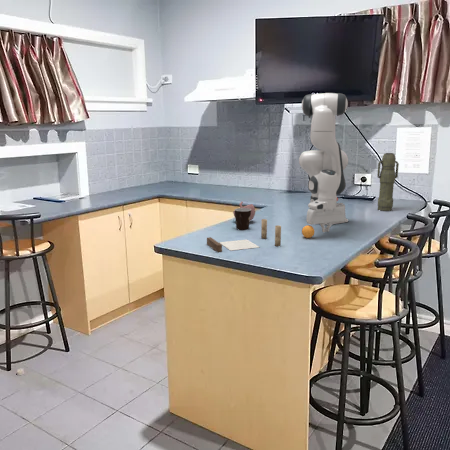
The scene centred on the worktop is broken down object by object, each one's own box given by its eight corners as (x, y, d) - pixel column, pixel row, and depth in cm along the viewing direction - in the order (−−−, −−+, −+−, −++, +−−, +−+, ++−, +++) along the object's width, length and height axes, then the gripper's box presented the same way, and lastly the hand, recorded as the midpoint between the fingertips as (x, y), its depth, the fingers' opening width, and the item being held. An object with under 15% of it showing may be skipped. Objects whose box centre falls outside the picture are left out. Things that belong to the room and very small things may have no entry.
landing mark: (246, 239, 220) (246, 239, 220) (259, 247, 208) (259, 247, 208) (219, 242, 215) (219, 242, 215) (230, 250, 203) (230, 250, 203)
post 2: (278, 244, 213) (279, 225, 210) (281, 245, 210) (282, 226, 208) (273, 245, 212) (274, 225, 210) (276, 246, 209) (277, 227, 207)
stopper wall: (210, 243, 214) (210, 237, 213) (221, 251, 201) (221, 244, 201) (206, 244, 213) (206, 237, 213) (217, 252, 201) (217, 245, 200)
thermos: (397, 211, 286) (402, 153, 278) (378, 211, 285) (382, 153, 277) (391, 208, 295) (396, 152, 287) (373, 208, 294) (377, 152, 286)
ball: (310, 235, 228) (310, 223, 227) (316, 238, 223) (317, 226, 221) (299, 236, 226) (299, 224, 225) (305, 239, 221) (306, 227, 219)
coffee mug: (241, 225, 249) (241, 207, 246) (254, 228, 243) (254, 209, 241) (227, 229, 240) (227, 210, 238) (240, 232, 235) (240, 212, 232)
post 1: (265, 237, 225) (265, 219, 223) (267, 238, 223) (268, 220, 221) (260, 237, 224) (260, 219, 222) (262, 238, 222) (263, 220, 220)
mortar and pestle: (242, 218, 265) (242, 199, 263) (259, 221, 258) (259, 201, 255) (228, 222, 256) (228, 202, 254) (246, 225, 249) (246, 204, 246)
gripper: (341, 201, 231) (339, 228, 234) (305, 204, 224) (304, 232, 227) (349, 203, 225) (347, 231, 228) (312, 206, 218) (311, 235, 221)
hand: (325, 231), depth 227 cm, fingers closed
